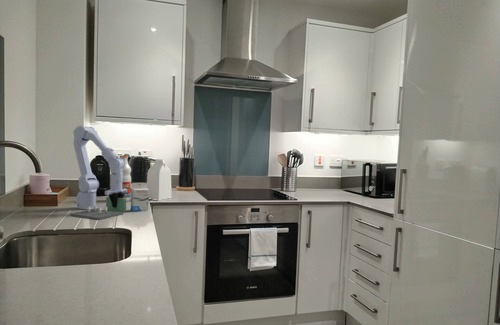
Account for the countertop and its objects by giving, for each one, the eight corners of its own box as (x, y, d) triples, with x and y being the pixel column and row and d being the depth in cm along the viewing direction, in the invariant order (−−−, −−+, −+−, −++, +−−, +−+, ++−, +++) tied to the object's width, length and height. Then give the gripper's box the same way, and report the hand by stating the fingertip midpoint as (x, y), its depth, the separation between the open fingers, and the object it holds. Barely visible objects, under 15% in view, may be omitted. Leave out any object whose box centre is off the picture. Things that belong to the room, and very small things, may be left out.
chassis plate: (70, 215, 177) (70, 207, 177) (95, 210, 192) (95, 203, 191) (99, 219, 170) (99, 211, 170) (123, 214, 185) (123, 206, 185)
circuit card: (106, 209, 196) (106, 196, 195) (108, 209, 197) (108, 196, 197) (123, 212, 191) (124, 199, 191) (125, 211, 193) (126, 198, 192)
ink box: (132, 211, 194) (133, 183, 193) (130, 210, 198) (131, 182, 197) (148, 210, 198) (149, 183, 198) (145, 209, 203) (146, 182, 202)
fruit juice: (118, 199, 233) (120, 155, 232) (133, 200, 232) (134, 155, 231) (111, 201, 223) (112, 155, 222) (126, 202, 222) (127, 156, 221)
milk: (145, 198, 239) (146, 159, 237) (158, 197, 248) (159, 158, 247) (158, 201, 232) (160, 160, 231) (171, 199, 242) (172, 159, 241)
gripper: (112, 183, 185) (112, 209, 186) (132, 181, 199) (131, 205, 199) (101, 182, 188) (101, 208, 189) (121, 180, 201) (121, 204, 202)
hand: (116, 207), depth 194 cm, fingers closed
